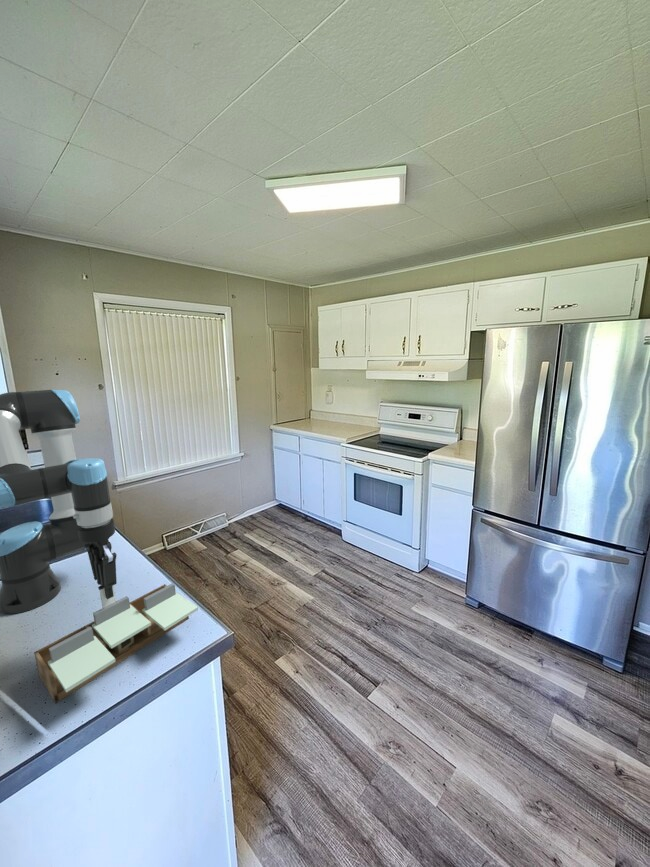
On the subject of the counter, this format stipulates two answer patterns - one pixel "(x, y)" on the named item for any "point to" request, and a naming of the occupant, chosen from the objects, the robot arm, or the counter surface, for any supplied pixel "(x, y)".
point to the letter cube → (123, 645)
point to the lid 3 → (167, 607)
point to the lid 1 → (78, 659)
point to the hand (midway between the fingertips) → (109, 607)
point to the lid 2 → (118, 622)
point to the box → (139, 642)
